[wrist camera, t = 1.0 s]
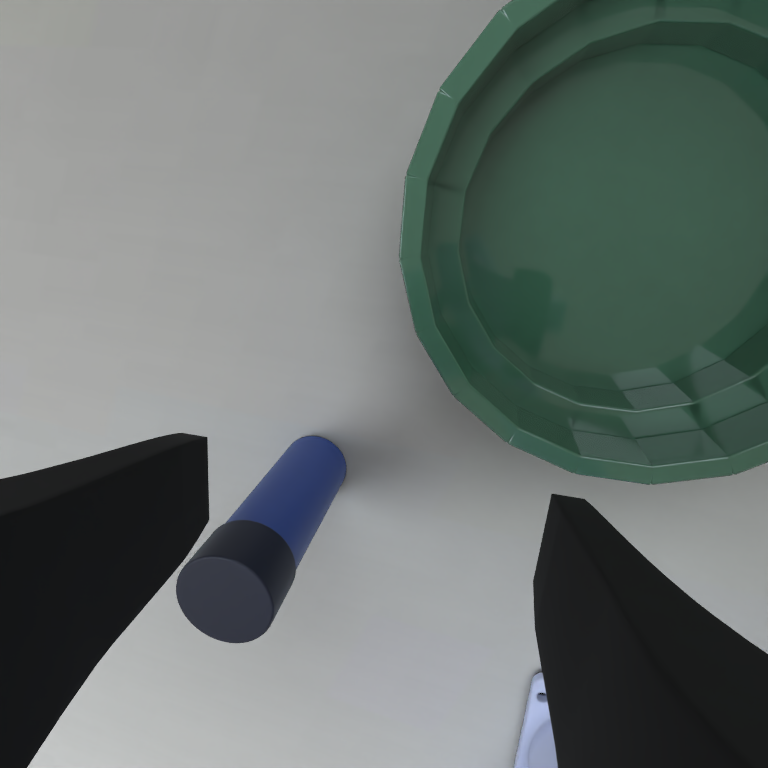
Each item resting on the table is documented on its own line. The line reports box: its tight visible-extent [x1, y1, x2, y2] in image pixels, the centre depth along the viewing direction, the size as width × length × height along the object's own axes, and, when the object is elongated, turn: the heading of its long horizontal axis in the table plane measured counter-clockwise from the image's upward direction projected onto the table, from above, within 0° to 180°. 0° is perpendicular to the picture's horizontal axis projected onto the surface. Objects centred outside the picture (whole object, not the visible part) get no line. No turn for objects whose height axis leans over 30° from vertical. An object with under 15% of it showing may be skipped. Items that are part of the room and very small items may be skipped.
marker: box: [176, 436, 346, 643], centre depth 18 cm, size 3×3×8 cm
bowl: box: [399, 0, 768, 485], centre depth 15 cm, size 13×13×4 cm
